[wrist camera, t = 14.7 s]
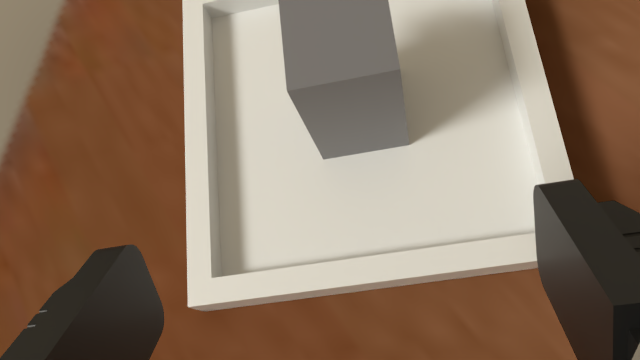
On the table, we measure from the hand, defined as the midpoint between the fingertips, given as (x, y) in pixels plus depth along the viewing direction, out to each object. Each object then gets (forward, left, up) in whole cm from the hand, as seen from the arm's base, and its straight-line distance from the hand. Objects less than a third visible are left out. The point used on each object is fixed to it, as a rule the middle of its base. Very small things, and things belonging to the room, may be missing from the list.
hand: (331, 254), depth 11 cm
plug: (0, -10, -15) cm, 18 cm away
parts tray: (0, -11, -16) cm, 19 cm away
